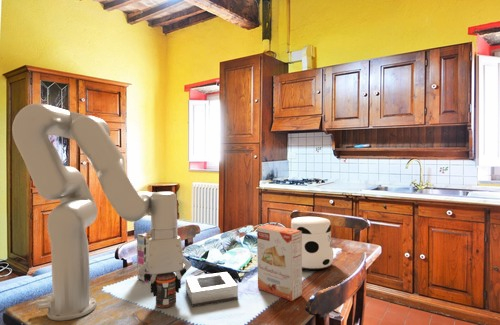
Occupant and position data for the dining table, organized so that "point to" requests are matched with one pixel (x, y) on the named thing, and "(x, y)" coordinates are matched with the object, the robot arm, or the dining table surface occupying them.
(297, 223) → the milk container
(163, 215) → the robot arm
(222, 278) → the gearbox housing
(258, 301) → the dining table surface
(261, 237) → the cracker box
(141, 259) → the candy bar box
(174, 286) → the supplement bottle
